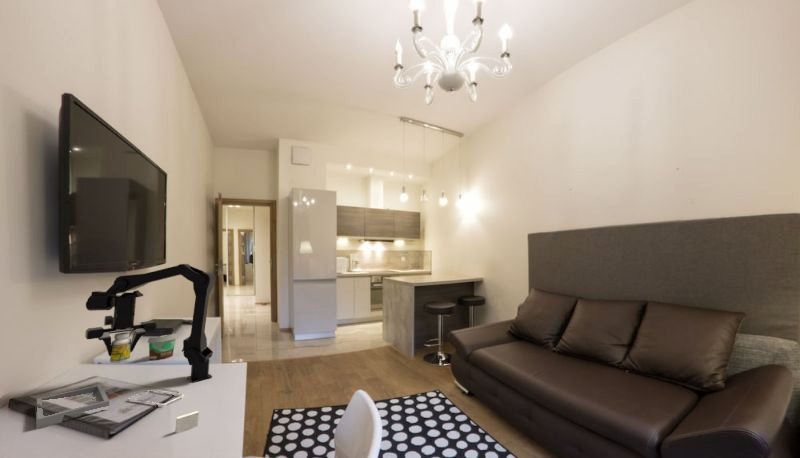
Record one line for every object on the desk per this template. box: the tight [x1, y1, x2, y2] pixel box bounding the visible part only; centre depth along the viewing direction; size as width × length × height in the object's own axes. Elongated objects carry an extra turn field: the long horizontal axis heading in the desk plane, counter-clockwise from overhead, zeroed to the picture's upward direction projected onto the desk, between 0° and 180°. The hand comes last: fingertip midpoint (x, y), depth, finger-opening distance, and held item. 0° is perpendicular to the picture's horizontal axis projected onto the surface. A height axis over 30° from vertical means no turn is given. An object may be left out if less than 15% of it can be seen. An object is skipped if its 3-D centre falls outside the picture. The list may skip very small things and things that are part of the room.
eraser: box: [174, 410, 200, 434], centre depth 82 cm, size 1×5×4 cm, turn 137°
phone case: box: [127, 389, 185, 408], centre depth 99 cm, size 7×1×15 cm
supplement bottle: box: [109, 332, 132, 364], centre depth 110 cm, size 5×5×10 cm
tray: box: [35, 384, 110, 430], centre depth 92 cm, size 18×14×2 cm
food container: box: [147, 331, 178, 361], centre depth 139 cm, size 12×6×10 cm, turn 168°
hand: (120, 353), depth 110 cm, fingers closed on supplement bottle, 5 cm apart
